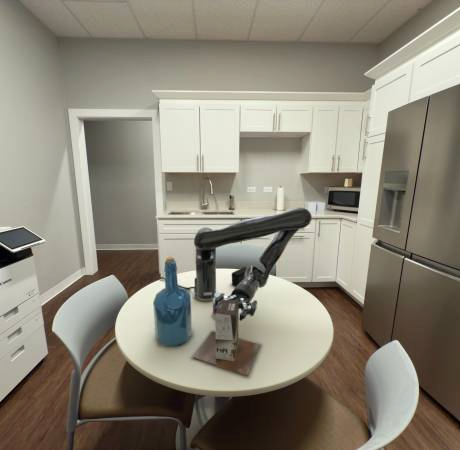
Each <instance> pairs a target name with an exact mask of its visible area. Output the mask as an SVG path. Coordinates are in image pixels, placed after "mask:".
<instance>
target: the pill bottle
mask: <svg viewBox="0 0 460 450" xmlns="http://www.w3.org/2000/svg"><path fill="white" fill-rule="evenodd" d="M222 293H223V292H220V291H218V292H217V291H216V293H215V294H214V299H213V300H212V317H213V318H215V299H216V298H217V297H218V296H220V295H221V294H222Z"/></svg>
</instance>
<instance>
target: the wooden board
mask: <svg viewBox="0 0 460 450" xmlns="http://www.w3.org/2000/svg"><path fill="white" fill-rule="evenodd" d="M215 334H216V333H215V331H211V332H210V334H209V335H208V336H207V338H206V339H205V341H204V342H203V343H202V345H201V346H200V348H199V349H198V350H197V351H196V353H195V354H194V356H193V359H194V360H197V361H201V362H205V363H206V364H210V365H213V366H216V367H218V368H222V369H225V370H228V371H230V372H234V373H236V374H240V375H243V376H245V377H248V376H249V373H250V370H251V367H252V365H253V363H254V360H255V358H256V356H257V353H258V350H259V348H260V344H258V343H255V342H252V341H248V340H244V339H241V338H238V347H237V352H236V357H235V361H228V360H222V359H216V335H215Z"/></svg>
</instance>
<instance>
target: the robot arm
mask: <svg viewBox="0 0 460 450" xmlns="http://www.w3.org/2000/svg"><path fill="white" fill-rule="evenodd" d="M312 218H313V217H312V213H311V212H310V211H309V209H307V208H305V207H301V206H299V207H295V208H293V209H290V210H287V211H284V212H280V213H276V214H272V215H271V214H270V215H261V216H255V217H250V218H246V219H242V220H239V221H237V222H234V223H232V224H230V225H228V226H226V227H223V228H219V229H214V230H213V228H210V227H207V226H206V227H201V228H200V229H198V230H197V232H196V234H195V235H194V238H193V244H194V245H193V246H195V277H194V286H189V287H185V286H182V285H180V284H178V287H181V288H184V289H185V290H192V289H193V292H194V298H195V299H197V300H198V301H201V302H211V301H213V299H214V294H215V293H217V263H216V262H217V248H219V247H220V248H221V247H224V246H226V245H230V244H237V243H241V242H246V241H252V240H256V239H260V238H264V237H267V236H270V235H273V234H276V233H277V234H276V235H275V236H274V237H273V239H272V240H271V242H270V243H269V244H268V245H267V247H266V248H265V249H264V251H263V252H262V253H261V255H260V256H259V258H258V261H259V263H260V264H261V265H262V266H263V267H264V271H263V270H262V269H260V268H259V267H258V266H256V265H254V264H251V265H249V266H247V267H246V268H247V269H246V271H245V274H244V279H243V280H242V281H241V282H240V283H239V284H238V285H237V286H235V288H234V289H233V290H232V291H231V293H230V295H228V296H227V295H225V293H223V292H221V293H222V294H221V295H220V296H218V297H217V298H216V299H215V313H216V310H217V308H218V305H219V303H220V300H221V299H222V300H235V301H239V310H240V311H241V312H240V313H239V321H243V320H245V319H246V317H247V316H248V315H250V316H251V317H252V316H253V317H254V316H255V313H256V311H257V309H258V300H256V299H255V300H253V299H254V297H255V295H256V293H257V292H258V290H259V289H261V288H264V287H265V286H266V285H267V283H268V280H269V277H270V275H271V273H272V270H273V268H274V266H275V265H276V264H277V262H278V261H279V260H280V258H281V257H282V255H283V254H284V252H285V250H286V248H287V246H288V244H289V242H290V241H291V239H292V238H293V236H294V235H296V233H297V232H298V231H299V230H300V229H305V228H307V227H308V226H309V225H310V224H311V222H312ZM158 279H159V280H164V281H165V276H164V277H163V276H161V277H159V278H158ZM252 300H253V301H252ZM249 307H250V308H249Z"/></svg>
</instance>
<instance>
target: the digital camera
mask: <svg viewBox="0 0 460 450" xmlns="http://www.w3.org/2000/svg"><path fill="white" fill-rule="evenodd" d="M247 268H248V267H245V266H244V267H242V268H239V269H237V270H235V271H233V272H231V285H232V286H234V287H236V286H237V285H238V284H239V283H240V282H241V281H242V280H243V279H244V274H245V271H246V269H247Z"/></svg>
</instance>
